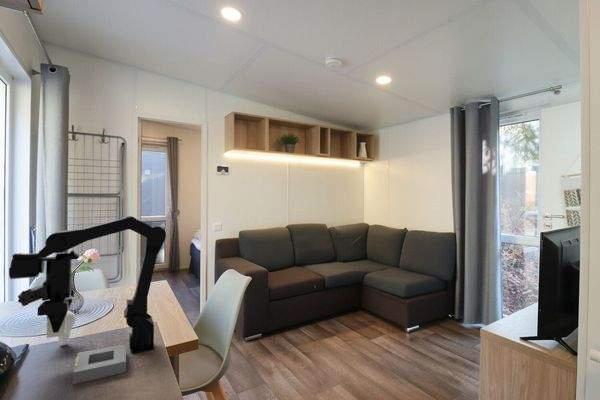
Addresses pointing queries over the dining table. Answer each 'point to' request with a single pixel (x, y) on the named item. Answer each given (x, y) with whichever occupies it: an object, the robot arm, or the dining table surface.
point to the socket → (99, 363)
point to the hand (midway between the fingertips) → (57, 329)
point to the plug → (61, 330)
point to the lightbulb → (70, 323)
